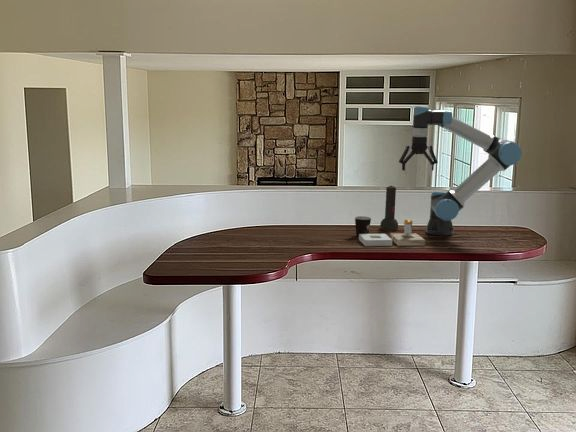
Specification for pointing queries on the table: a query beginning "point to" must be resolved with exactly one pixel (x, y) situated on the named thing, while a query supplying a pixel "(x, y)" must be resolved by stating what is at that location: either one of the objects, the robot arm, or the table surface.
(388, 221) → the flashlight
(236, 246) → the table surface
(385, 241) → the mount block
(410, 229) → the pin
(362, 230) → the coffee mug
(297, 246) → the table surface
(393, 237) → the block
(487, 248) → the table surface
